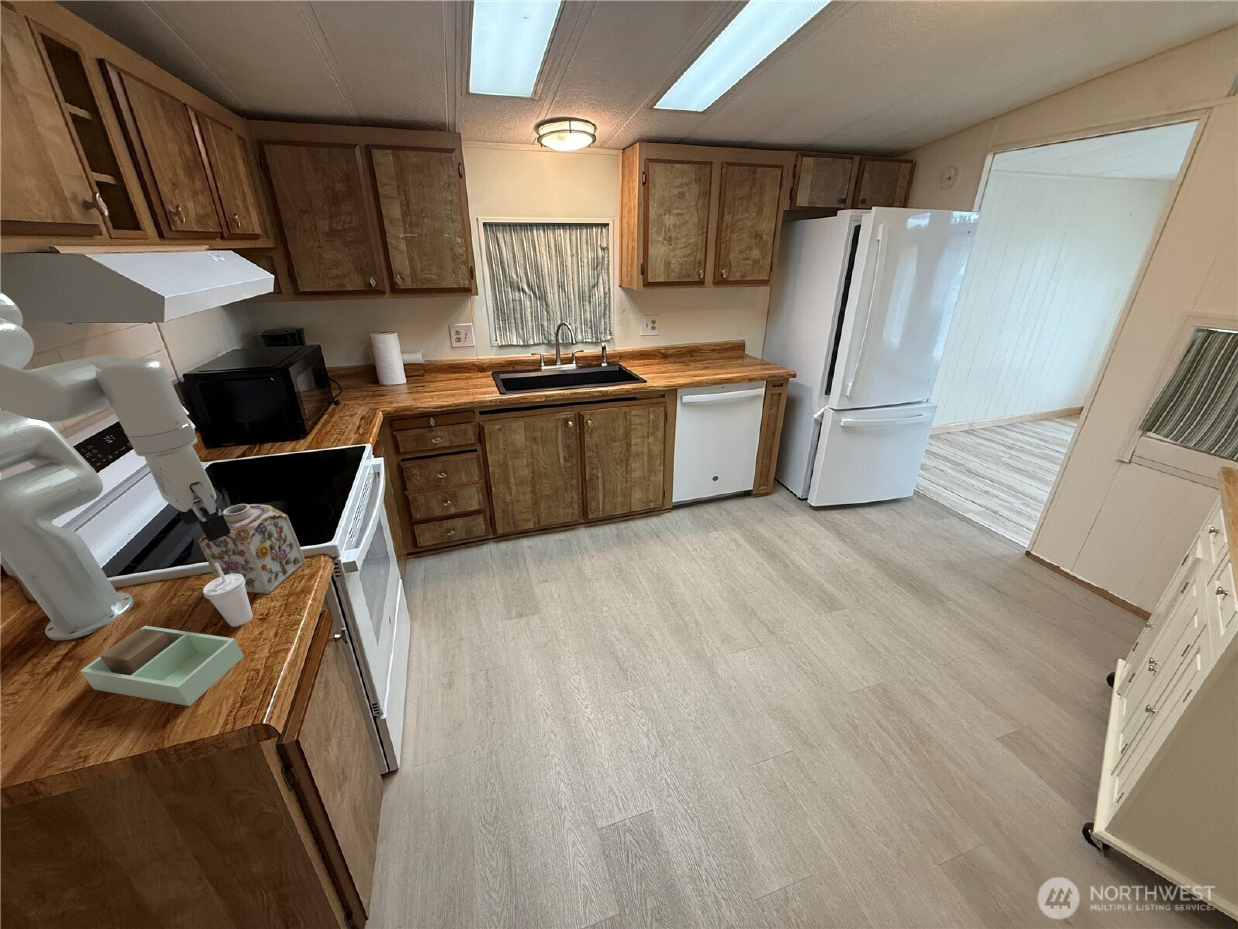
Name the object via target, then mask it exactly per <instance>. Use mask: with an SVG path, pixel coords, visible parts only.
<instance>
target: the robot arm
mask: <svg viewBox="0 0 1238 929" xmlns="http://www.w3.org/2000/svg"><path fill="white" fill-rule="evenodd" d="M23 324H24V318H23V314H22V312H21V310H20V308H19V307H18V305H17V304H16V303H15V301H13V299H11V298H10V297H9V296H8V295H6V294H5V293H4V292H1V291H0V409H2V411H0V472H2V471H5V470H8V469H11V468H13V467H16V466H19V465H22V464H24V463H29V464H31V465H33V468H30V469H27V470H25V471H22V472H18V473H16V474H12V475H10V476H8V477H5V478H1V479H0V554H1V556H2V557H3V558H4V559H5V561H6V562H7V563H8V565H9V566H10V567H11V569H12V570H13V571H14V573H15V574H16V575H17V577H18V578H19V579H20V580H21V582H22V583H23V585H24V586H25V587H26V589H27V591H29V593H30V594H31V595H32V597H33V598H34V599H35V601H36V603H37V604H38V605H39V606H40V607H41V609H42V610H43V611H44V613H45V614H46V616H47V617H48V618H49V620H50V621H49V623H48V624H47V625H46V627H45V629H44V632H45V635H46V636H47V637H48V639H50V640H52V641H68V640H73V639H77V638H82V637H85V636H87V635H90V634H92V633H95V632H98V631H100V630H101V629H103V628H105V627H106V626H108V625H109V624H111V623H112V622H113V621H116V620H117V619H119V618H120V617H121V616H123V615H124V614H126V613H127V612H129V611H130V610H131V608H132V607H133V605H134V602H135V601H134V599H133V596H132V595H131V594H129V593H128V592H117V591H116V589H115V588H114V587H113V586H114V585H113V584H112V583H111V582H110V580H109V578H108V577H107V575H106V573H105V572H104V571H103V568H101V566H100V564H99V562H98V561H97V560H96V557H95V556H94V555H93V553H92V552H91V550H90V548H89V547H88V545H87V544H86V543H85V541H84V540H83V538H82V537H81V535H79V533H77V532H76V531H74V530H72V529H70V528H65V527H63V526H62V527H61V526H58V525H55V524H53V521H54V520H55V519H57V518H59V517H61V516H64V514H67V513H69V512H72V511H73V510H75V509H78V508H80V507H82V506H84V505H86V504H88V503H90V502H92V501H94V500H96V499H98V497H100V496H101V494H102V493H103V491H104V484H103V480H102V478H101V477H100V476H99V474H98V473H97V471H96V470H95V469H94V468H93V467H92V466H91V464H90V463H89V462H88V460H86V459H85V458H84V457H83V456H82V455H81V454H80V453H79V452H78V451H77V449H75V447H74V446H73V445H72V444H71V443H70V442H69V441H68V440H67V438H65V436H63V434H62V433H61V432H60V431H59V430H58V429H57V428H56V427H55V426H54V425H53V424H51V423H59V422H65V421H69V420H72V419H76V418H78V417H81V416H85V415H88V414H91V413H93V412H97V411H100V410H104V409H108V408H111V409H112V411H113V412H114V415H115V416H116V418H117V420H118V422H119V424H120V425H121V427H122V429H123V432H124V434H125V435H126V438H127V439H128V440H129V444H130V445H131V446H132V448H133V450H134V452H135V454H136V456H138V457H144V459H145V461H146V464H147V466H148V469H149V471H150V473H151V475H152V478H153V479H154V482H155V484H156V486H157V489H158V491H159V493H160V495H161V497H162V499H163V500H164V501H165V502H167V503H168V504H170V506H172V507H174V508H175V509H176V510H177V512H178V514H179V515H180V517H181V520H182V521H183V523H184V524H185V525H187V526H189V525H192V524H194V523H197V522H198V524H199V526H200V528H201V531H202V533H203V532H204V534H205V536H206V538H207V540H208V541H209V542H212V541H214V540H217V539H219V538H221V537H224V536H226V535H228V534H230V533H231V531H230V529H229V527H228V525H227V522H226V520H225V518H224V516H223V514H222V513H223V511H222V510H221V509H220V507H219V506H218V504H216V502H215V501H216V499H217V493H216V490H215V489H214V487H213V484H212V481H211V480H210V478H209V476H208V473H207V472H206V470H205V467H204V465H203V464H202V462H201V459H200V457H199V456H198V454H197V452H196V450H195V449H194V447H193V446H194V445H195V444H197V443H198V437H197V435H196V434H195V433H196V432H195V431H194V428H193V426H192V424H191V423H190V420H189V418H188V415H187V413H186V411H185V409H184V407H183V405H182V402H181V400H180V398H179V395H178V393H177V391H176V390H175V387H174V385H173V382H172V380H171V378H170V376H169V374H168V372H167V369H166V368H165V366H164V364H163V363H162V362H161V361H159V360H158V359H155V358H152V357H134V358H133V357H132V358H128V357H123V356H119V355H115V354H114V355H113V354H99V355H92V356H89V357H83V358H79V359H73V360H68V361H63V362H59V363H54V364H50V365H45V366H40V367H38V368H37V367H36V368H33V369H23V368H24V367H26V366H27V364H28V363H29V362H30V361H31V359H32V357H33V354H34V350H35V348H34V347H35V345H34V340H33V339H32V336H31V335H30V333H29V332H28V331H27V330H25V329H24V328H23Z"/></svg>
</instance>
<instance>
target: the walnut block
mask: <svg viewBox="0 0 1238 929" xmlns="http://www.w3.org/2000/svg"><path fill="white" fill-rule="evenodd" d="M171 644H172V643H171V642H170V640H169V638H168V637H167V635H166V634H165V633H162V632H155V631H148V630H141V628H137V629H136V630H134V631H132V633H130V634H128V635H127V636H126V637H124V638H122V640H120V641H118V642H117V643H116V644H114V645H113V646H111V647H109V649H107V650H106V651H104V652H103V653H101V654H100V655H99V657H101V658H102V660H103V661H104V662H105V664H106V665H107V667H108V668H109V670H110V671H111V672H112V673H117V674H123V675H129V676H131V675H132V674H133V673H135V672H136V671H137V670H138V669H140V668H141V667H142V666H144V665H145V664H146V663H148V662H149V661H150V660H152V659H153V658H154V657H155V656H157V655H158V654H159V653H161V652H162V651H163V650H165V649H166V648H167V647H169V646H170V645H171Z"/></svg>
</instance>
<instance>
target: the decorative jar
mask: <svg viewBox="0 0 1238 929" xmlns="http://www.w3.org/2000/svg"><path fill="white" fill-rule="evenodd" d="M222 514H223V516H224V518H225V520H226V522H227V525H228V527H229V529H230V531H231V533H230V534H228V535H226V536H224V537H221V538H219V539H217V540H214V541H212V542H209V541H208V540H207V538H206V536H205V534H204V532H203V531H202V533H201V535H200V538H199V539H198V544H199V546H200V549H201V551H202V553H203V555H204V557H205V559H206V560H207V563H208V565H209V567H210V569H211V571H212V574H213V576H214V578H215V579H216V578H219V577H221V576H220V574H219V572H218V570H217V568H216V566H215V563H218V564H219V566H220V568H221V570H222V572H223V574H224V575H228V574H241V575H242V576H243V577H244V579H245V584H244V585H245V588H246V592H247V593H248V594H249V593H250V594H263V595H264V594H265V595H270V594H271V593H273V591H274V590H276V588H277V587H279V586H280V585H281V584H282V583H283V582H284V581H285V580H287V579H288V578H289V577H290V576H291V575H292V574H293V573H295V572H296V571H297V569H299V568H300V567H301V566H303V565H304V564H305V563H306V560H305V557H304V553H303V550H302V548H301V546H300V543H299V541H298V540H299V539H298V538H297V535H296V533H295V530H294V528H293V526H292V524H291V521H290V519H289V516H288V515H287V514H285V513H284V512H282V511H281V510H279V509H276V508H274V507H273V506H271V505H267V504H259V503H253V504H252V503H251V504H247V503H239V504H236V505H231V506H228V507H227V508H225V509H224V510H223V511H222Z"/></svg>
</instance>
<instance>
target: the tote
mask: <svg viewBox="0 0 1238 929" xmlns="http://www.w3.org/2000/svg"><path fill="white" fill-rule="evenodd" d="M140 629H141V630H148V631H155V632H162V633H165V634H166V635H167V637H168V638H169V640H170V642H171V643H172V644H171V645H170V646H169V647H167V648H166V649H165V650H163V651H162V652H161V653H159V654H158V655H157V656H155V657H154V658H153V659H152V660H150V661H149V662H148V663H146V664H145V665H144V666H142V667H141V668H140V669H138V670H137V671H136V672H135V673H133V674H132V675H131V676H129V675H123V674H117V673H112V672H111V671H110V670H109V668H108V667H107V665H106V664H105V662H104V661H103V660H102V658H101V657H100V656H99V657H98V658H96V659H95V660H93V661H92V662H91V663H89V664H87V665H86V666H85V667H83V668H82V669H81V670H80V673H81V674H82V675H83V677H84V678H85V679H86V681H87V682H88V684H89V685H90V687H91V688H92V689H93V690H97V691H101V692H107V693H112V694H113V693H114V694H118V695H125V696H130V697H137V698H142V699H148V700H152V701H159V702H162V703H170V704H175V705H180V706H185V707H190V706H191V705H193V704H194V703H195V702H196V701H197V700H198V699H199V698H201V697H202V696H203V695H204V694H205V693H206V692H207V691H208V690H209V689H210V688H212V687H213V686H214V685H215V684H216V683H217V682H218V681H219V680H221V679H222V677H223V676H225V675H226V674H227V673H228V672H229V671H230V670H231V669H233V667H235V666H236V665H237V664H238V663H240V661H242V659H243V658H244V657H245V655H244V653H243V651H242V649H241V647H240V645H239V644H238V642H237V640H236V638H233V637H226V636H220V635H219V636H218V635H212V634H205V633H199V632H191V631H185V630H178V629H170V628H165V627H164V628H163V627H155V626H149V625H144V626H142V627H141V628H140Z"/></svg>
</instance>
